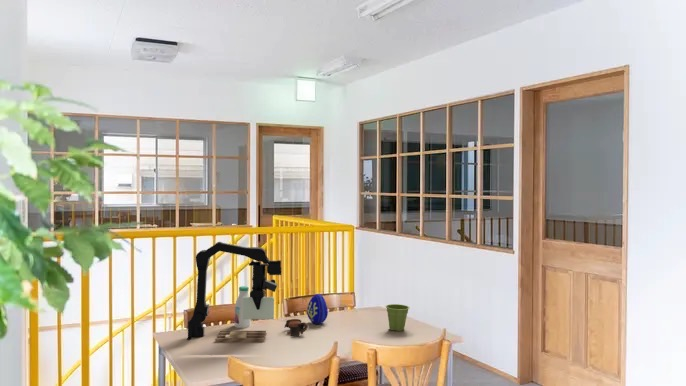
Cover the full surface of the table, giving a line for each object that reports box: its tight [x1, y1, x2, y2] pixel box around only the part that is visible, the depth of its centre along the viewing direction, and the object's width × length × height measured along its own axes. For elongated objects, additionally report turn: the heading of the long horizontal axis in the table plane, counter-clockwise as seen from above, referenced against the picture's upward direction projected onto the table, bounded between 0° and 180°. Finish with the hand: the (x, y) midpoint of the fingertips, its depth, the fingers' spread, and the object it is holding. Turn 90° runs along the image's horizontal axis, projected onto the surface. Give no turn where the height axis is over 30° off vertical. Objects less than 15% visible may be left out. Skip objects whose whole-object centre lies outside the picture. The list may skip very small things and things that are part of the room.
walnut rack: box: [213, 330, 268, 343], centre depth 242 cm, size 22×15×2 cm
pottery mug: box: [283, 318, 309, 337], centre depth 253 cm, size 12×10×8 cm
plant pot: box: [385, 303, 410, 332], centre depth 264 cm, size 12×12×11 cm
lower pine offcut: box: [225, 335, 247, 338], centre depth 237 cm, size 9×3×2 cm, turn 94°
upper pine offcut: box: [230, 330, 248, 337], centre depth 237 cm, size 7×3×2 cm, turn 94°
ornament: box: [306, 293, 329, 325], centre depth 274 cm, size 11×9×15 cm
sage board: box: [243, 296, 275, 320], centre depth 246 cm, size 14×2×10 cm, turn 94°
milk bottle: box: [234, 285, 252, 329], centre depth 262 cm, size 8×8×20 cm
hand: (258, 309), depth 246 cm, fingers closed on sage board, 2 cm apart
